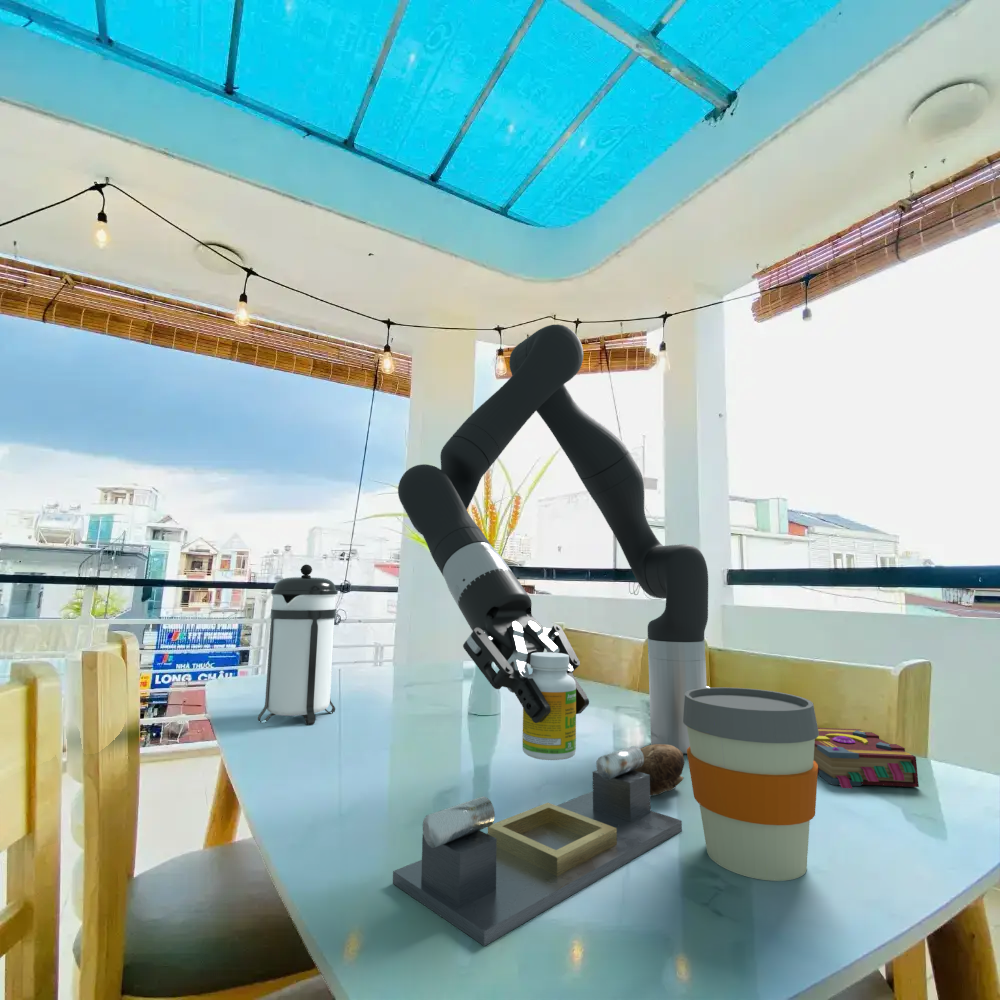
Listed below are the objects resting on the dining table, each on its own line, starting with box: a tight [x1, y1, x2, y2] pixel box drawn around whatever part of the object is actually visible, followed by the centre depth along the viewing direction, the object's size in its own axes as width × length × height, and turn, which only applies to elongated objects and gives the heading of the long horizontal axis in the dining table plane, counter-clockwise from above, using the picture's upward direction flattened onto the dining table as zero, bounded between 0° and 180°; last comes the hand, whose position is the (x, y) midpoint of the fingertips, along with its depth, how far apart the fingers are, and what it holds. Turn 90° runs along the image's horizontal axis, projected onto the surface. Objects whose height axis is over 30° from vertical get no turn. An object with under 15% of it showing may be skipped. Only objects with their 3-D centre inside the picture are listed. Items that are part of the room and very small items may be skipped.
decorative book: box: [814, 727, 919, 789], centre depth 82 cm, size 11×16×5 cm
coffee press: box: [257, 564, 339, 726], centre depth 115 cm, size 17×16×30 cm
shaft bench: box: [392, 745, 683, 947], centre depth 56 cm, size 30×12×7 cm, turn 134°
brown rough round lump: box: [634, 744, 686, 797], centre depth 73 cm, size 8×8×6 cm
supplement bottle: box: [522, 651, 577, 761], centre depth 58 cm, size 5×5×10 cm
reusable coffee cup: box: [683, 686, 819, 882], centre depth 56 cm, size 12×13×15 cm
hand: (563, 712), depth 56 cm, fingers closed on supplement bottle, 5 cm apart
